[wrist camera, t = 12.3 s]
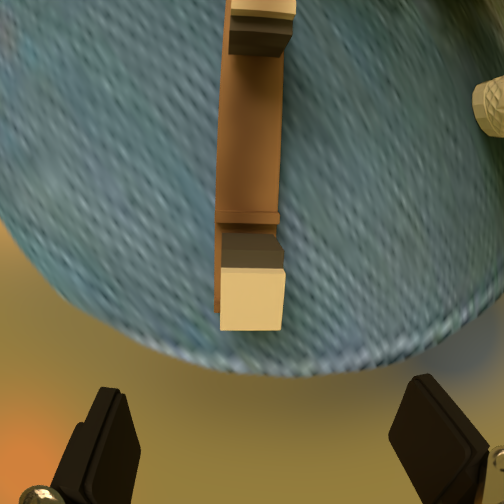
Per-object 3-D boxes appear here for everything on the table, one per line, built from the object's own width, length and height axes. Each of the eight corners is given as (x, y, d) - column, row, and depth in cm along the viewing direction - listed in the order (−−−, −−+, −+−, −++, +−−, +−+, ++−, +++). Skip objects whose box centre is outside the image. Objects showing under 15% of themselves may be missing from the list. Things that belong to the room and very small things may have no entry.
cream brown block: (271, 231, 26) (287, 255, 20) (267, 290, 28) (280, 330, 21) (222, 230, 26) (221, 253, 19) (220, 289, 27) (220, 330, 21)
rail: (281, -1, 22) (302, -52, 14) (268, 300, 30) (285, 352, 22) (227, -5, 22) (229, -59, 13) (214, 300, 30) (212, 353, 21)
